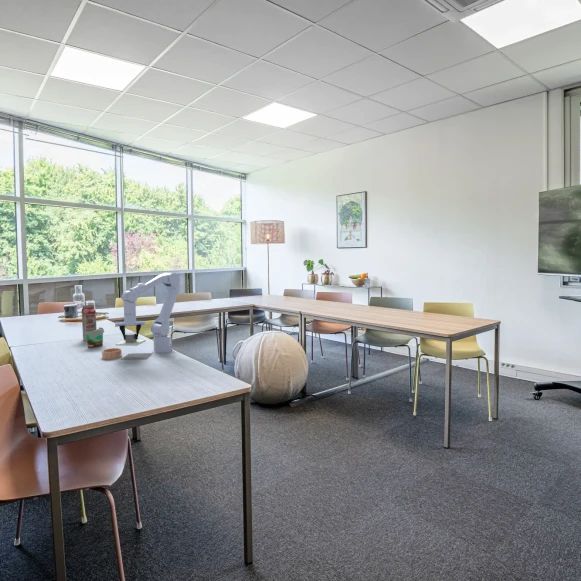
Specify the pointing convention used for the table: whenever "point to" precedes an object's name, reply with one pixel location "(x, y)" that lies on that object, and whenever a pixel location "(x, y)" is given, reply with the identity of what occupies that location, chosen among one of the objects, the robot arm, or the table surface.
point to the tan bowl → (111, 353)
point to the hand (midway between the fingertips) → (131, 339)
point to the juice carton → (88, 319)
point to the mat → (137, 356)
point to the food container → (95, 338)
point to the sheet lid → (130, 340)
